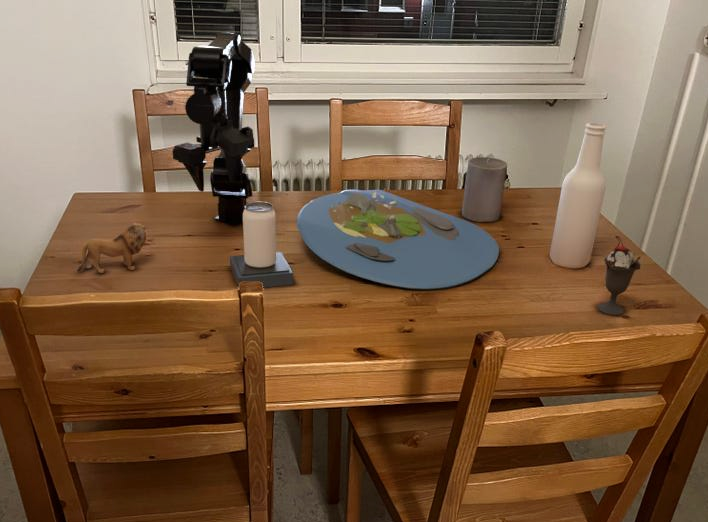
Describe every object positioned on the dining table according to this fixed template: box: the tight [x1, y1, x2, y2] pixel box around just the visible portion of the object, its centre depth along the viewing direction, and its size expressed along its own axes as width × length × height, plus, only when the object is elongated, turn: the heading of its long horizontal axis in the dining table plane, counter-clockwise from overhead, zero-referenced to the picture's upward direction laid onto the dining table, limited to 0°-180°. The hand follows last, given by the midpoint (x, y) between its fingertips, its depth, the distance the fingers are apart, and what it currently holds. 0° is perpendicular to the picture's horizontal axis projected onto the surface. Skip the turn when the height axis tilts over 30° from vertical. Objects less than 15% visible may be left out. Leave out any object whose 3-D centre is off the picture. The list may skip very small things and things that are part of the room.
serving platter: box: [296, 187, 500, 291], centre depth 165 cm, size 45×43×12 cm
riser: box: [229, 251, 294, 289], centre depth 152 cm, size 11×11×3 cm
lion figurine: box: [76, 222, 147, 274], centre depth 151 cm, size 15×5×9 cm, turn 116°
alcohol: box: [549, 121, 607, 269], centre depth 157 cm, size 9×9×30 cm
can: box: [242, 201, 277, 268], centre depth 148 cm, size 6×6×12 cm
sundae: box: [597, 235, 642, 316], centre depth 141 cm, size 7×7×15 cm
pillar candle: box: [461, 156, 508, 223], centre depth 184 cm, size 10×10×15 cm
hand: (217, 186), depth 161 cm, fingers open, 9 cm apart
